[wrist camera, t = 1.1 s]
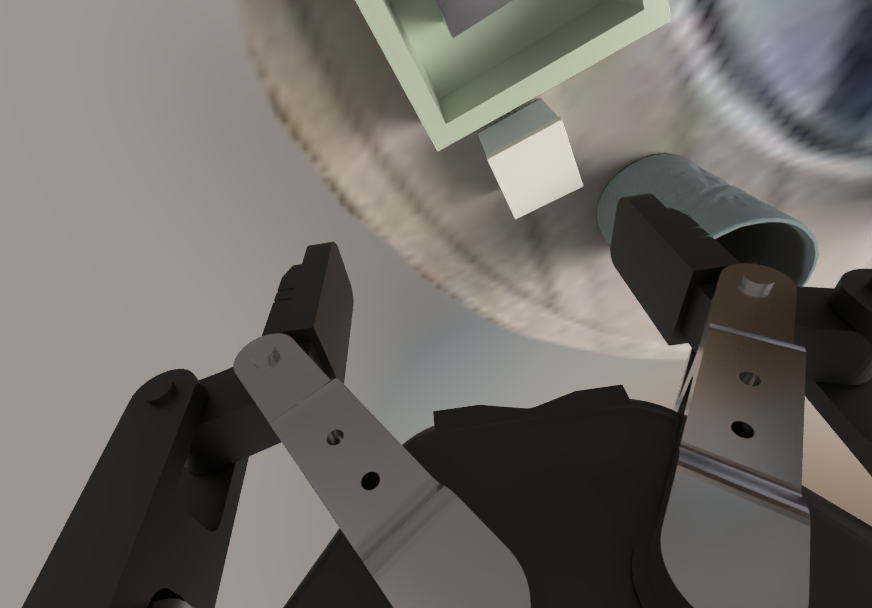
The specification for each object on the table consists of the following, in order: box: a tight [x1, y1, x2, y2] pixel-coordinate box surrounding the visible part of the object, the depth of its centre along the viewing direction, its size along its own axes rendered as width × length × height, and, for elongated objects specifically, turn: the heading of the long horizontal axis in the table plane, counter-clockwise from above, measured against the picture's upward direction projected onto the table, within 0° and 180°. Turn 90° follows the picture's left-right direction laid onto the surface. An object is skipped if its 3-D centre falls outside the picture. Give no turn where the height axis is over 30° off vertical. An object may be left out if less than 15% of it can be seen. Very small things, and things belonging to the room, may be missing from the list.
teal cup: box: [597, 153, 819, 287], centre depth 31 cm, size 10×10×12 cm
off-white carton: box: [478, 98, 583, 220], centre depth 30 cm, size 5×5×5 cm
